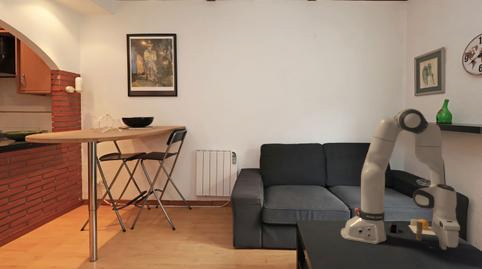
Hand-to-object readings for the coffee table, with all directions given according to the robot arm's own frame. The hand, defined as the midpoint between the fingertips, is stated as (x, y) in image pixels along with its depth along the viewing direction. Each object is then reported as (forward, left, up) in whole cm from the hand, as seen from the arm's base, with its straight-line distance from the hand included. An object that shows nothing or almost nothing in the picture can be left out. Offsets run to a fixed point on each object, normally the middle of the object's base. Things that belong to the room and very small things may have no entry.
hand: (442, 248), depth 139 cm
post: (-6, +12, -2) cm, 14 cm away
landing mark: (0, +26, -2) cm, 27 cm away
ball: (+1, +29, +1) cm, 29 cm away
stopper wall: (0, +34, -2) cm, 34 cm away
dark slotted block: (-16, +22, -2) cm, 28 cm away
